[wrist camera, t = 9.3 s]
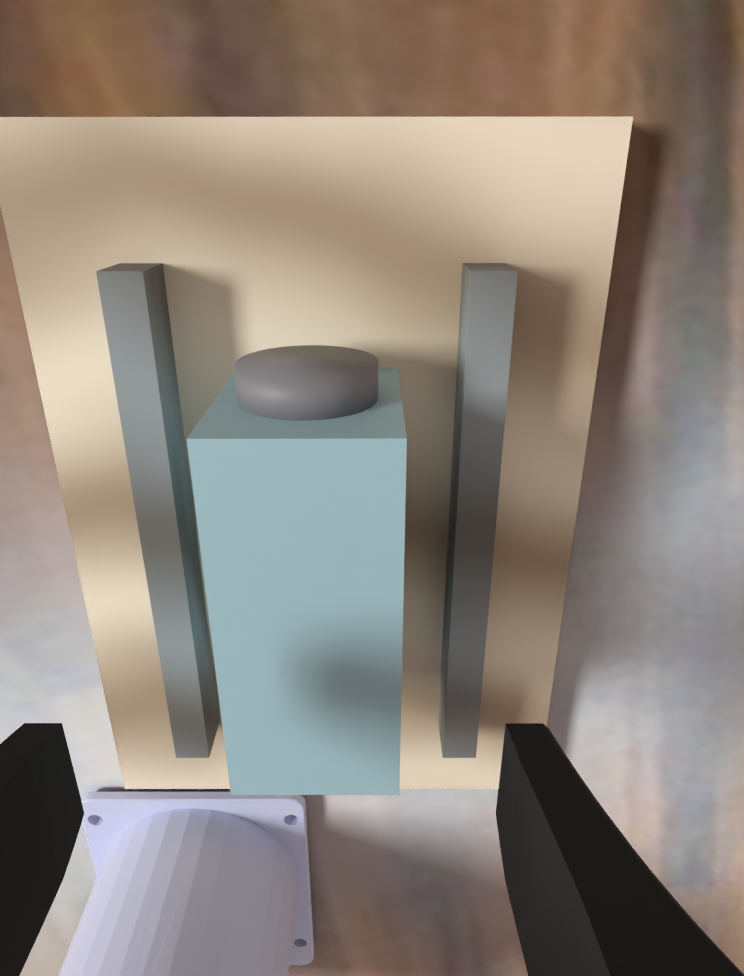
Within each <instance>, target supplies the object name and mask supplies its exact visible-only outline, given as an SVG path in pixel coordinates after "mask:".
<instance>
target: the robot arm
mask: <svg viewBox="0 0 744 976" xmlns="http://www.w3.org/2000/svg"><path fill="white" fill-rule="evenodd" d="M291 815H295V816H291ZM496 818H497V825H498V832H499V840H500V847H501V854H502V861H503V868H504V875H505V881H506V885H507V889H508V894H509V898H510V902H511V906H512V910H513V914H514V918H515V923H516V927H517V931H518V935H519V939H520V943H521V947H522V951H523V955H524V959H525V963H526V967H527V971H528V976H744V974H743V973H742V972H741V971H740V970H739V969H738V968H737V967H736V966H735V965H734V964H733V963H732V962H731V961H730V960H729V958H728V957H727V956H726V955H725V954H724V953H723V952H722V951H721V950H720V949H719V948H718V947H717V946H716V945H715V944H714V943H713V941H712V940H711V939H710V938H709V937H708V936H707V935H706V934H705V933H704V932H703V931H702V929H701V928H700V927H699V926H698V925H697V924H696V923H695V922H694V921H693V919H692V918H691V917H690V916H689V915H688V914H687V913H686V911H685V910H684V909H683V908H682V907H681V906H680V905H679V903H678V902H677V901H676V900H675V899H674V898H673V896H672V895H671V894H670V893H669V892H668V890H667V889H666V888H665V887H664V886H663V884H662V883H661V882H660V881H659V880H658V878H657V877H656V876H655V875H654V874H653V873H652V871H651V870H650V869H649V868H648V866H647V865H646V864H645V863H644V861H643V860H642V859H641V858H640V856H639V855H638V854H637V853H636V851H635V850H634V849H633V848H632V846H631V845H630V844H629V842H628V841H627V840H626V838H625V837H624V836H623V834H622V833H621V832H620V830H619V829H618V828H617V827H616V825H615V824H614V823H613V821H612V820H611V819H610V817H609V816H608V815H607V813H606V812H605V811H604V809H603V808H602V807H601V805H600V804H599V802H598V801H597V800H596V798H595V797H594V796H593V794H592V793H591V791H590V790H589V788H588V787H587V786H586V784H585V783H584V781H583V780H582V778H581V777H580V776H579V774H578V773H577V771H576V770H575V768H574V767H573V765H572V764H571V762H570V761H569V759H568V758H567V756H566V755H565V753H564V752H563V750H562V749H561V747H560V745H559V744H558V742H557V741H556V739H555V738H554V736H553V734H552V733H551V731H550V730H549V728H548V727H547V726H545V725H544V724H543V723H506V724H505V733H504V743H503V752H502V761H501V770H500V780H499V789H498V798H497V808H496ZM81 822H83V826H84V830H85V834H86V838H87V842H88V846H89V849H90V853H91V857H92V861H93V865H94V869H95V873H96V877H97V879H96V882H95V884H94V887H93V889H92V892H91V894H90V897H89V899H88V902H87V904H86V907H85V909H84V912H83V915H82V917H81V920H80V922H79V925H78V927H77V930H76V932H75V935H74V937H73V940H72V942H71V945H70V948H69V950H68V953H67V955H66V958H65V960H64V963H63V965H62V968H61V970H60V973H59V975H58V976H288V971H289V965H307V964H309V963H310V962H311V961H313V958H314V937H313V920H312V903H311V886H310V868H309V851H308V834H307V817H306V802H305V799H304V797H303V796H302V795H231V792H89V793H87V794H85V795H84V797H83V798H82V800H81V798H80V794H79V790H78V786H77V782H76V778H75V774H74V770H73V766H72V762H71V758H70V754H69V750H68V746H67V742H66V738H65V734H64V730H63V726H62V723H24V724H23V725H22V726H21V727H20V728H18V729H17V730H16V731H15V732H14V733H13V734H11V735H10V736H9V737H8V738H7V739H6V740H5V741H3V742H2V743H1V744H0V976H19V975H20V973H21V971H22V969H23V966H24V964H25V962H26V960H27V958H28V956H29V953H30V951H31V949H32V947H33V945H34V943H35V940H36V938H37V936H38V934H39V932H40V929H41V927H42V925H43V923H44V921H45V918H46V916H47V914H48V912H49V909H50V907H51V905H52V903H53V901H54V898H55V896H56V894H57V892H58V889H59V887H60V885H61V882H62V880H63V877H64V875H65V872H66V869H67V866H68V863H69V860H70V857H71V854H72V851H73V848H74V845H75V842H76V838H77V835H78V832H79V829H80V826H81Z"/></svg>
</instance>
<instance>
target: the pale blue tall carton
mask: <svg viewBox="0 0 744 976" xmlns="http://www.w3.org/2000/svg"><path fill="white" fill-rule="evenodd" d="M187 447H188V455H189V463H190V471H191V479H192V487H193V495H194V503H195V511H196V519H197V527H198V535H199V543H200V551H201V559H202V567H203V575H204V583H205V591H206V599H207V607H208V615H209V623H210V631H211V639H212V647H213V656H214V664H215V672H216V680H217V688H218V696H219V704H220V712H221V720H222V728H223V736H224V744H225V752H226V760H227V768H228V776H229V784H230V792H231V795H399V789H400V741H401V693H402V645H403V597H404V550H405V502H406V454H407V436H406V428H405V421H404V413H403V406H402V398H401V391H400V383H399V376H398V368H378V359H377V358H376V357H375V356H374V355H372V354H370V353H368V352H365V351H362V350H358V349H353V348H347V347H339V346H325V345H301V346H286V347H277V348H271V349H265V350H260V351H256V352H253V353H250V354H247V355H244V356H242V357H240V358H239V359H238V360H237V361H236V362H235V372H234V373H233V375H232V376H231V377H230V379H229V380H228V382H227V383H226V384H225V386H224V387H223V389H222V390H221V391H220V393H219V394H218V396H217V397H216V398H215V400H214V401H213V403H212V404H211V405H210V407H209V408H208V410H207V411H206V412H205V414H204V415H203V417H202V418H201V419H200V421H199V422H198V424H197V425H196V426H195V428H194V429H193V431H192V432H191V433H190V435H189V436H188V438H187Z"/></svg>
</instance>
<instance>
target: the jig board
mask: <svg viewBox="0 0 744 976" xmlns="http://www.w3.org/2000/svg"><path fill="white" fill-rule="evenodd" d="M632 121H633V117H0V205H1V210H2V214H3V219H4V224H5V228H6V233H7V238H8V242H9V247H10V252H11V257H12V261H13V266H14V271H15V275H16V280H17V285H18V289H19V294H20V299H21V304H22V308H23V313H24V318H25V322H26V327H27V332H28V336H29V341H30V346H31V351H32V355H33V360H34V365H35V369H36V374H37V379H38V383H39V388H40V393H41V397H42V402H43V407H44V412H45V416H46V421H47V426H48V430H49V435H50V440H51V444H52V449H53V454H54V459H55V463H56V468H57V473H58V477H59V482H60V487H61V491H62V496H63V501H64V506H65V510H66V515H67V520H68V524H69V529H70V534H71V538H72V543H73V548H74V553H75V557H76V562H77V567H78V571H79V576H80V581H81V585H82V590H83V595H84V600H85V604H86V609H87V614H88V618H89V623H90V628H91V632H92V637H93V642H94V647H95V651H96V656H97V661H98V665H99V670H100V675H101V679H102V684H103V689H104V694H105V698H106V703H107V708H108V712H109V717H110V722H111V726H112V731H113V736H114V741H115V745H116V750H117V755H118V759H119V764H120V769H121V773H122V778H123V783H124V787H125V789H230V784H229V776H228V768H227V760H226V752H225V744H224V736H223V728H222V720H221V712H220V704H219V696H218V688H217V680H216V672H215V664H214V656H213V647H212V639H211V631H210V623H209V615H208V607H207V599H206V591H205V583H204V575H203V567H202V559H201V551H200V543H199V535H198V527H197V519H196V511H195V503H194V495H193V487H192V479H191V471H190V463H189V455H188V447H187V438H188V436H189V435H190V433H191V432H192V431H193V429H194V428H195V426H196V425H197V424H198V422H199V421H200V419H201V418H202V417H203V415H204V414H205V412H206V411H207V410H208V408H209V407H210V405H211V404H212V403H213V401H214V400H215V398H216V397H217V396H218V394H219V393H220V391H221V390H222V389H223V387H224V386H225V384H226V383H227V382H228V380H229V379H230V377H231V376H232V375H233V373H234V372H235V362H236V361H237V360H238V359H239V358H240V357H242V356H244V355H247V354H250V353H253V352H256V351H260V350H265V349H271V348H277V347H286V346H301V345H325V346H339V347H347V348H353V349H358V350H362V351H365V352H368V353H370V354H372V355H374V356H375V357H376V358H377V359H378V368H398V376H399V383H400V391H401V398H402V406H403V413H404V421H405V428H406V436H407V454H406V502H405V550H404V597H403V645H402V693H401V741H400V789H499V780H500V770H501V761H502V752H503V743H504V733H505V724H506V723H543V724H544V725H545V726H547V721H548V714H549V707H550V700H551V693H552V686H553V679H554V672H555V665H556V658H557V650H558V643H559V636H560V629H561V622H562V615H563V608H564V601H565V594H566V587H567V580H568V573H569V566H570V559H571V552H572V545H573V538H574V530H575V523H576V516H577V509H578V502H579V495H580V488H581V481H582V474H583V467H584V460H585V453H586V446H587V439H588V432H589V425H590V418H591V411H592V403H593V396H594V389H595V382H596V375H597V368H598V361H599V354H600V347H601V340H602V333H603V326H604V319H605V312H606V305H607V298H608V291H609V284H610V276H611V269H612V262H613V255H614V248H615V241H616V234H617V227H618V220H619V213H620V206H621V199H622V192H623V185H624V178H625V171H626V164H627V156H628V149H629V142H630V135H631V128H632Z"/></svg>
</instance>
